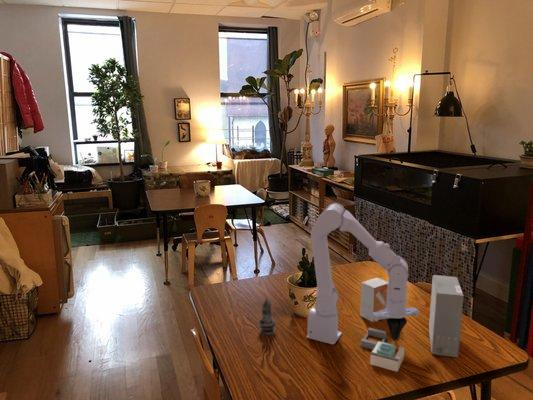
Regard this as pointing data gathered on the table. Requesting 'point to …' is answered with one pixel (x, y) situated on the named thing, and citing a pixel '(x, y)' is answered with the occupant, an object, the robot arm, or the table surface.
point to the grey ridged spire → (267, 319)
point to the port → (387, 359)
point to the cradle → (374, 333)
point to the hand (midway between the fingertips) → (394, 338)
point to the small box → (373, 297)
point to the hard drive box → (445, 315)
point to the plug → (386, 349)
